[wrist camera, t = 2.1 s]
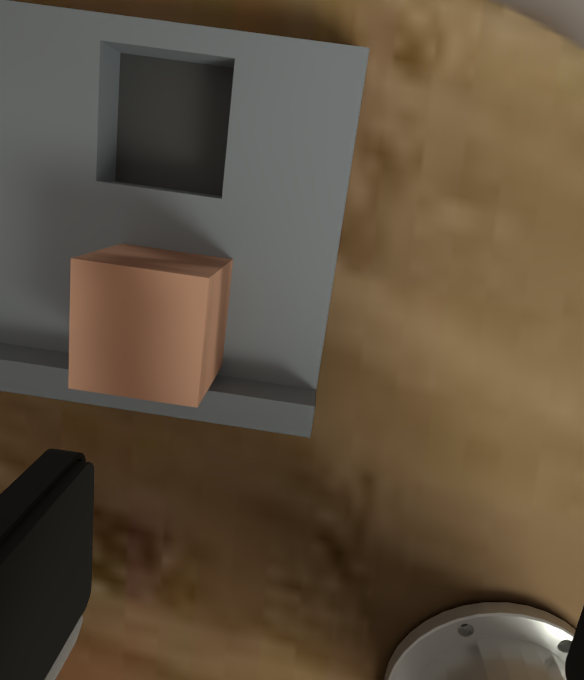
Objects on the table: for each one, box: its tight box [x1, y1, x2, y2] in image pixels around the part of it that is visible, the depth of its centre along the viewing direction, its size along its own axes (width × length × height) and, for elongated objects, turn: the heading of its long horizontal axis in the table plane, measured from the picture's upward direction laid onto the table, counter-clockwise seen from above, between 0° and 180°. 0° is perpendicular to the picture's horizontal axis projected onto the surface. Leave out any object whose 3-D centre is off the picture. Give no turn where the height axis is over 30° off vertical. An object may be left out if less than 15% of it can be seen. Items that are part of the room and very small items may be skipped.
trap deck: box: [0, 0, 369, 438], centre depth 24 cm, size 28×16×4 cm, turn 83°
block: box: [68, 243, 233, 408], centre depth 23 cm, size 5×5×5 cm
